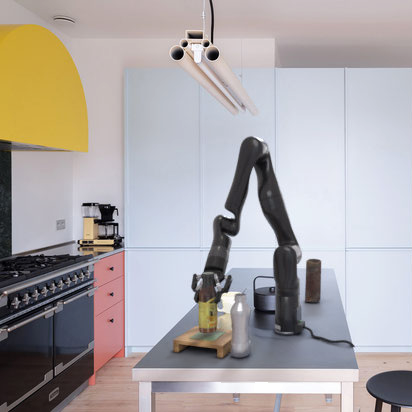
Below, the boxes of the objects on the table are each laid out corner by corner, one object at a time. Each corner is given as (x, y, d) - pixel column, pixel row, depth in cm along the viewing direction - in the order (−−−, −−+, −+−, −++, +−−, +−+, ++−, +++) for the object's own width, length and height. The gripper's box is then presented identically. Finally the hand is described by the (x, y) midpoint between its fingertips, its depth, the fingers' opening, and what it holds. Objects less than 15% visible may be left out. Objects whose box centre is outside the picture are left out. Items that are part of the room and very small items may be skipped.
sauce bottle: (212, 335, 137) (212, 275, 136) (195, 333, 138) (194, 274, 137) (220, 328, 144) (220, 271, 143) (204, 326, 145) (203, 270, 144)
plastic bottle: (230, 352, 137) (230, 292, 136) (251, 351, 137) (251, 291, 136) (228, 360, 130) (228, 297, 129) (250, 359, 131) (250, 297, 130)
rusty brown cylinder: (321, 300, 199) (322, 258, 198) (320, 304, 192) (320, 261, 191) (306, 299, 201) (306, 258, 200) (303, 303, 193) (304, 261, 192)
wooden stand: (241, 342, 145) (241, 330, 145) (222, 358, 132) (222, 345, 132) (195, 336, 150) (195, 325, 150) (173, 351, 137) (173, 339, 137)
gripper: (195, 254, 148) (182, 296, 137) (234, 255, 146) (224, 297, 135) (200, 266, 153) (188, 307, 142) (238, 267, 152) (229, 308, 141)
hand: (206, 302), depth 139 cm, fingers closed on sauce bottle, 6 cm apart
